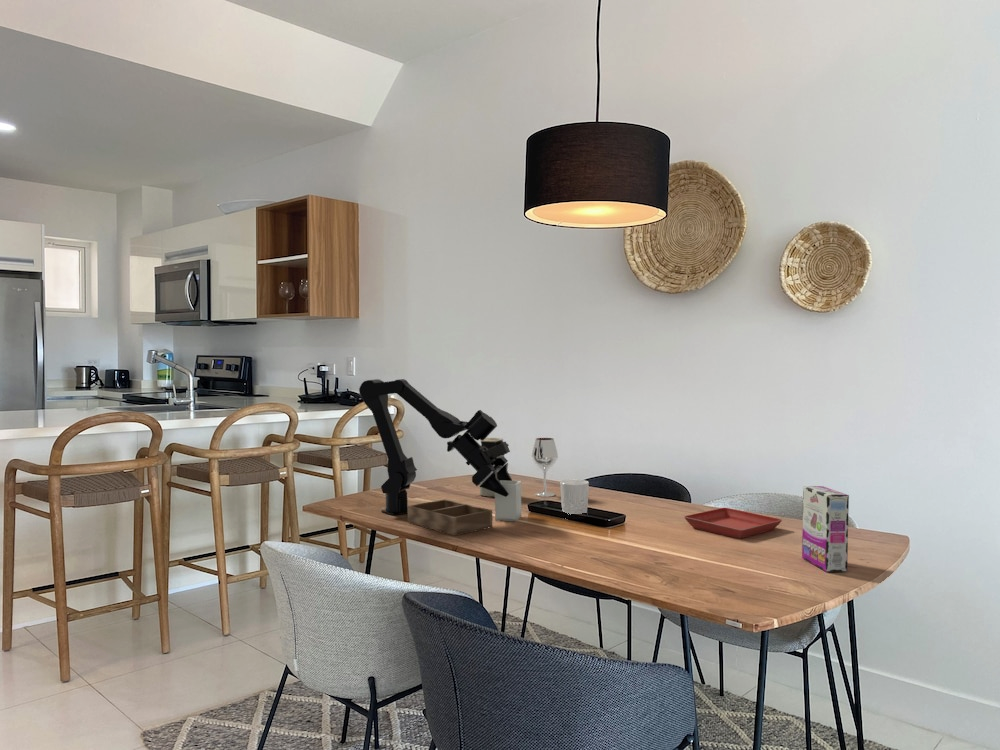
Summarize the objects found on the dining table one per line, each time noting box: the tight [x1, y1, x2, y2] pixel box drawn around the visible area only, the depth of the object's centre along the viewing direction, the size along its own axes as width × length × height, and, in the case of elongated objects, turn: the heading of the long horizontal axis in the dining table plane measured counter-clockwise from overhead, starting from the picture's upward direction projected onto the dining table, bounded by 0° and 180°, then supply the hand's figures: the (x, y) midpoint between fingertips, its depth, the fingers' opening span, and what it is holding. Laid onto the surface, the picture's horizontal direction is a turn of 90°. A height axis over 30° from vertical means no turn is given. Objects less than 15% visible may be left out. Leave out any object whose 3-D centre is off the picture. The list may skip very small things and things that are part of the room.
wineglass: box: [531, 437, 558, 498], centre depth 244 cm, size 8×8×18 cm
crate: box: [407, 498, 493, 536], centre depth 205 cm, size 20×13×5 cm, turn 42°
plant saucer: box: [683, 507, 783, 539], centre depth 199 cm, size 18×18×3 cm
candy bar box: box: [801, 485, 850, 573], centre depth 165 cm, size 11×5×16 cm, turn 5°
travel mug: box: [479, 437, 505, 498], centre depth 245 cm, size 8×8×18 cm
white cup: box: [559, 478, 590, 520], centre depth 212 cm, size 8×8×10 cm
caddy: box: [494, 480, 522, 522], centre depth 212 cm, size 6×6×10 cm
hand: (511, 492), depth 211 cm, fingers open, 9 cm apart
